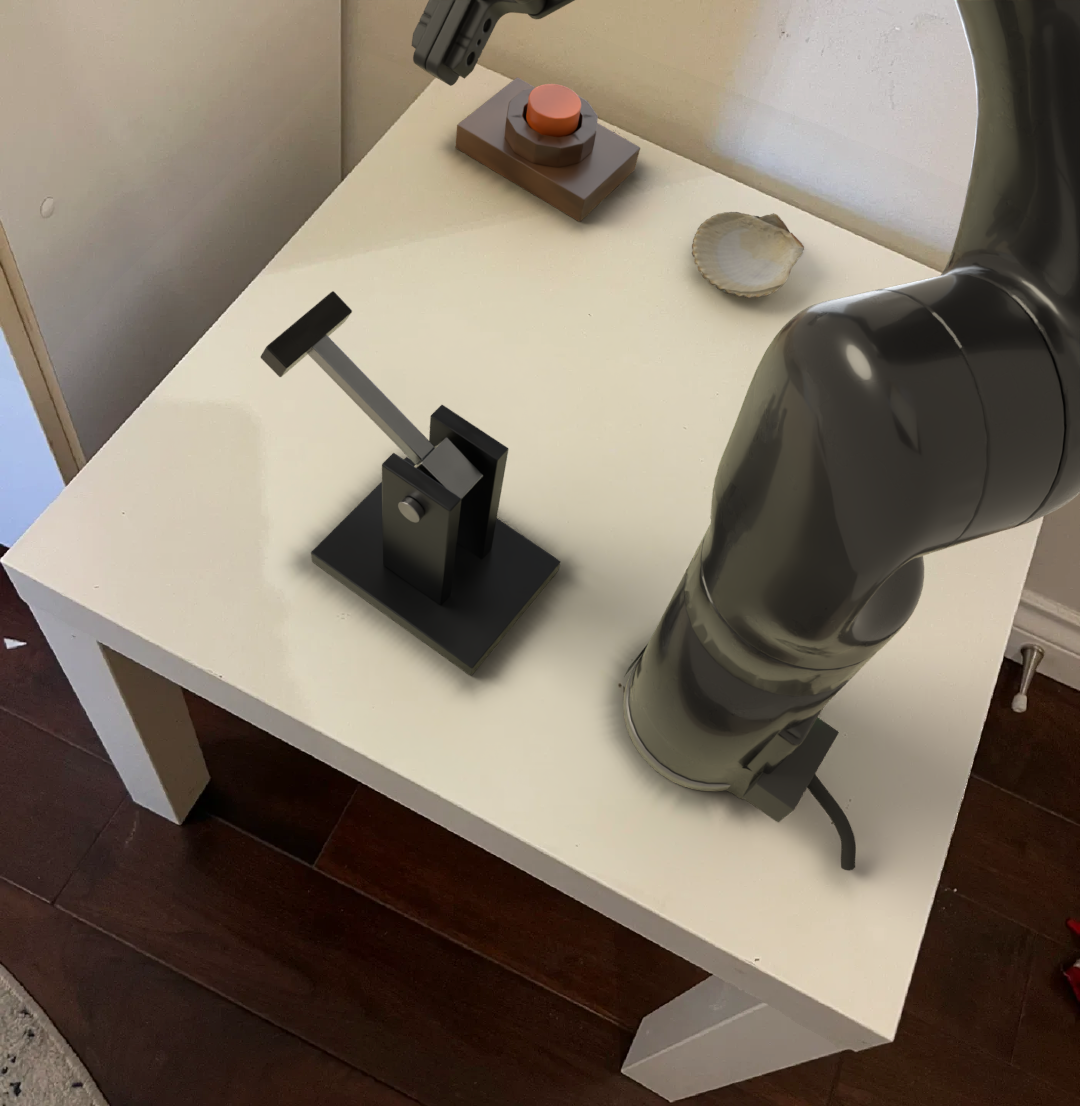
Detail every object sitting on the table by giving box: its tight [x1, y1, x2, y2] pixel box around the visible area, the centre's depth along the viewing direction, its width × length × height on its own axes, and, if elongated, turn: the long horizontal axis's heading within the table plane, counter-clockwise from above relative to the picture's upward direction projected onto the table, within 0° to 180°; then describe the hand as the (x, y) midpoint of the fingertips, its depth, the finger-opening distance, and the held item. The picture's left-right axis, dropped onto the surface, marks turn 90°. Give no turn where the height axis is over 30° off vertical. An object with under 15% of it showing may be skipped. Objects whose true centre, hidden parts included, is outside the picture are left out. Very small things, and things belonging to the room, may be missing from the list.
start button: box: [526, 83, 581, 137], centre depth 79 cm, size 4×4×2 cm
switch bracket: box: [310, 404, 562, 677], centre depth 58 cm, size 12×9×12 cm
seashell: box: [691, 211, 805, 299], centre depth 78 cm, size 8×3×8 cm
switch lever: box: [260, 290, 483, 499], centre depth 54 cm, size 12×5×2 cm, turn 55°
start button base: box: [455, 77, 641, 223], centre depth 81 cm, size 12×8×4 cm, turn 55°
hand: (433, 74), depth 49 cm, fingers closed
